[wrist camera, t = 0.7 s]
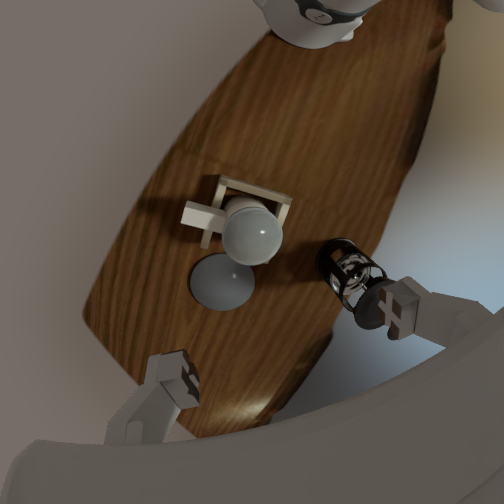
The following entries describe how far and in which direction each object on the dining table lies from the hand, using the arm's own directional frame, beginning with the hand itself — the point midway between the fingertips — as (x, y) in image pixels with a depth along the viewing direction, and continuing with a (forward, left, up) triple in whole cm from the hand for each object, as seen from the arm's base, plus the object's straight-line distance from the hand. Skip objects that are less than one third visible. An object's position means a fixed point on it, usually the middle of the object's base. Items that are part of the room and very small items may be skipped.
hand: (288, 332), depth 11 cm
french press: (+8, +26, -38) cm, 46 cm away
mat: (+18, +5, -37) cm, 42 cm away
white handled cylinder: (+5, +2, -37) cm, 38 cm away
